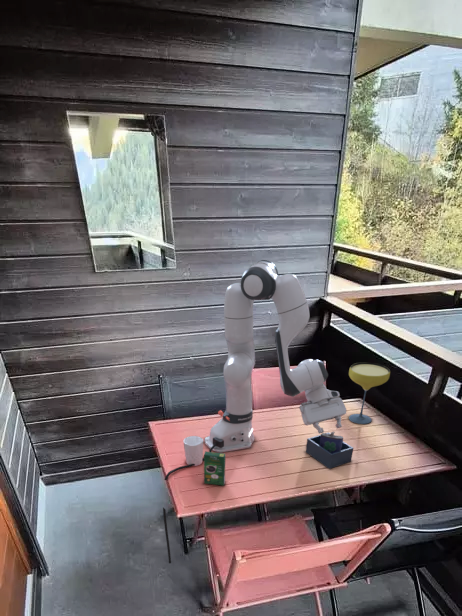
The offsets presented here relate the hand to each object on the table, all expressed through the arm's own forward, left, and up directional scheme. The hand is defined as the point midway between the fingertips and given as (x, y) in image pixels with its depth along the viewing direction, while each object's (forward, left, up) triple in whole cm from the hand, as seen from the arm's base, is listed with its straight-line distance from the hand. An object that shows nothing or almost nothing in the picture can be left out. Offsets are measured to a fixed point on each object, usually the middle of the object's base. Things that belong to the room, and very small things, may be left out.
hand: (330, 430), depth 179 cm
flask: (+1, -1, -11) cm, 12 cm away
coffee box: (-51, +5, -12) cm, 53 cm away
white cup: (-51, +23, -12) cm, 57 cm away
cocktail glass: (+37, +19, -12) cm, 44 cm away
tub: (0, -1, -12) cm, 12 cm away
